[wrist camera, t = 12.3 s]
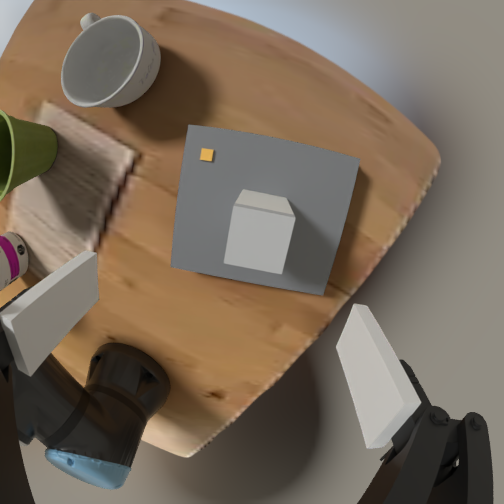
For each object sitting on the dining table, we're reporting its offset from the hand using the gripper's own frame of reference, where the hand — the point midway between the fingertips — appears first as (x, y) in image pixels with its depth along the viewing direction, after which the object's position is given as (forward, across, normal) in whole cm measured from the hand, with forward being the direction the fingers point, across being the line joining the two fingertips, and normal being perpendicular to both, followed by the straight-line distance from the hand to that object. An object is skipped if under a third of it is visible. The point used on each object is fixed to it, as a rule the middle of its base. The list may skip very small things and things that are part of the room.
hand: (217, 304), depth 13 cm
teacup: (+21, +18, -17) cm, 33 cm away
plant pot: (+21, +31, -5) cm, 38 cm away
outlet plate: (+21, -2, -1) cm, 21 cm away
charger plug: (+20, -2, -1) cm, 20 cm away
